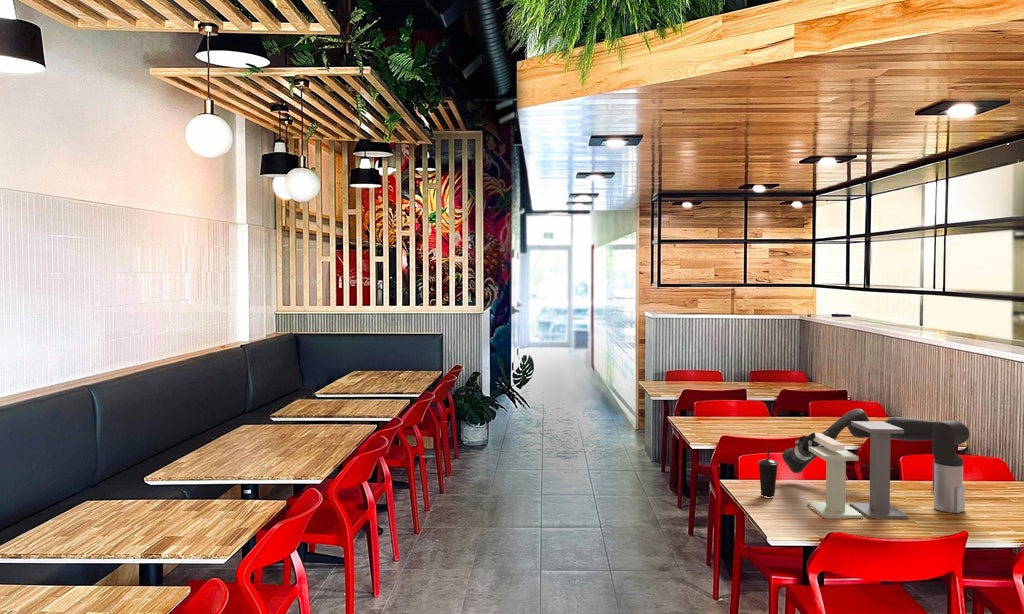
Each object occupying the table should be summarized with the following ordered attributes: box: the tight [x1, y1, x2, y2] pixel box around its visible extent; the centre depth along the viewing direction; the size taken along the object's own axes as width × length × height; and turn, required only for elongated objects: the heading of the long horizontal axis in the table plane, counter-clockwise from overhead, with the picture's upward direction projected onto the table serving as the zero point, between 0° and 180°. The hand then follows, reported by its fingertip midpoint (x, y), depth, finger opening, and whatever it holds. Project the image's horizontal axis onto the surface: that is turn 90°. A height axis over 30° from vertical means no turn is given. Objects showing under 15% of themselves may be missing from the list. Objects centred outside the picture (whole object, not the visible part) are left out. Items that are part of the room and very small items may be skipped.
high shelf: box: [849, 420, 909, 520], centre depth 272 cm, size 18×14×32 cm
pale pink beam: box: [809, 432, 845, 451], centre depth 279 cm, size 22×4×2 cm, turn 178°
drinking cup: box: [757, 446, 779, 497], centre depth 292 cm, size 8×8×20 cm
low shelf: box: [807, 447, 864, 519], centre depth 273 cm, size 18×14×22 cm
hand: (820, 435), depth 285 cm, fingers closed on pale pink beam, 4 cm apart
